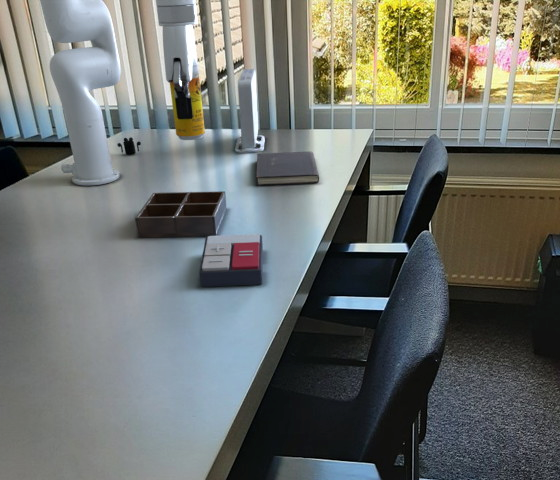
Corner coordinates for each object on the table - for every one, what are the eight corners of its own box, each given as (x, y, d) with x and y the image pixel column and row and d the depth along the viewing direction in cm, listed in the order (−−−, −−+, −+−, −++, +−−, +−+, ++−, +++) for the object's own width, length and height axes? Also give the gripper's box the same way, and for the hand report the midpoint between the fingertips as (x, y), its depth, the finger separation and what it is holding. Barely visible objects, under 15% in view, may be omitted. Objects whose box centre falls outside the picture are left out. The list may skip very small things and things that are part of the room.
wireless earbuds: (142, 153, 191) (139, 135, 188) (142, 155, 189) (139, 137, 186) (119, 154, 190) (116, 137, 188) (118, 156, 188) (115, 139, 185)
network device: (262, 154, 184) (259, 81, 173) (233, 155, 184) (227, 82, 173) (265, 134, 205) (262, 68, 194) (239, 135, 205) (234, 69, 194)
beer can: (200, 140, 129) (191, 60, 120) (172, 140, 130) (162, 61, 121) (208, 133, 134) (201, 56, 125) (182, 133, 135) (172, 57, 126)
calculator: (198, 268, 108) (205, 232, 120) (201, 290, 111) (207, 253, 123) (261, 266, 108) (261, 230, 120) (262, 287, 110) (263, 251, 123)
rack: (138, 237, 132) (134, 218, 129) (155, 210, 146) (153, 192, 143) (216, 236, 130) (214, 216, 128) (226, 209, 144) (225, 191, 142)
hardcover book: (256, 186, 159) (256, 177, 157) (257, 161, 178) (257, 153, 176) (319, 183, 158) (319, 174, 157) (313, 159, 178) (313, 151, 176)
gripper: (167, 13, 127) (179, 107, 137) (147, 20, 112) (161, 125, 122) (203, 12, 126) (212, 106, 136) (188, 19, 112) (199, 124, 122)
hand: (188, 114), depth 129 cm, fingers closed on beer can, 6 cm apart
